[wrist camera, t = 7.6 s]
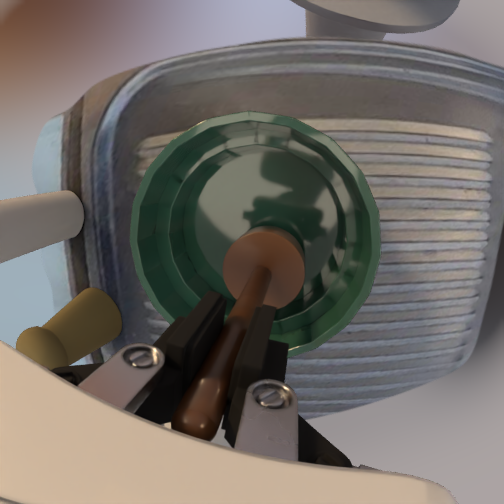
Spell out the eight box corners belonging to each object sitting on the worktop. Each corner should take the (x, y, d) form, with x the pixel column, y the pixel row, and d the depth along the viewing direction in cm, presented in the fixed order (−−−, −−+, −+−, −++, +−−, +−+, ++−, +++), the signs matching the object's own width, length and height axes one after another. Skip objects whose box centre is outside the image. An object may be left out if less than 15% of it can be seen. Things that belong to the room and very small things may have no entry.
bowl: (184, 119, 21) (147, 103, 16) (379, 153, 20) (405, 144, 14) (161, 296, 25) (127, 325, 20) (332, 336, 24) (338, 380, 18)
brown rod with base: (237, 218, 20) (82, 320, 5) (312, 234, 20) (330, 394, 5) (226, 287, 22) (109, 453, 7) (295, 303, 21) (268, 505, 6)
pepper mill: (91, 275, 26) (11, 318, 16) (131, 319, 27) (60, 380, 16) (72, 310, 28) (3, 354, 18) (108, 349, 28) (46, 406, 18)
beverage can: (93, 225, 25) (-7, 257, 14) (66, 244, 26) (-25, 279, 15) (77, 181, 24) (-25, 193, 13) (50, 203, 25) (-41, 223, 14)
